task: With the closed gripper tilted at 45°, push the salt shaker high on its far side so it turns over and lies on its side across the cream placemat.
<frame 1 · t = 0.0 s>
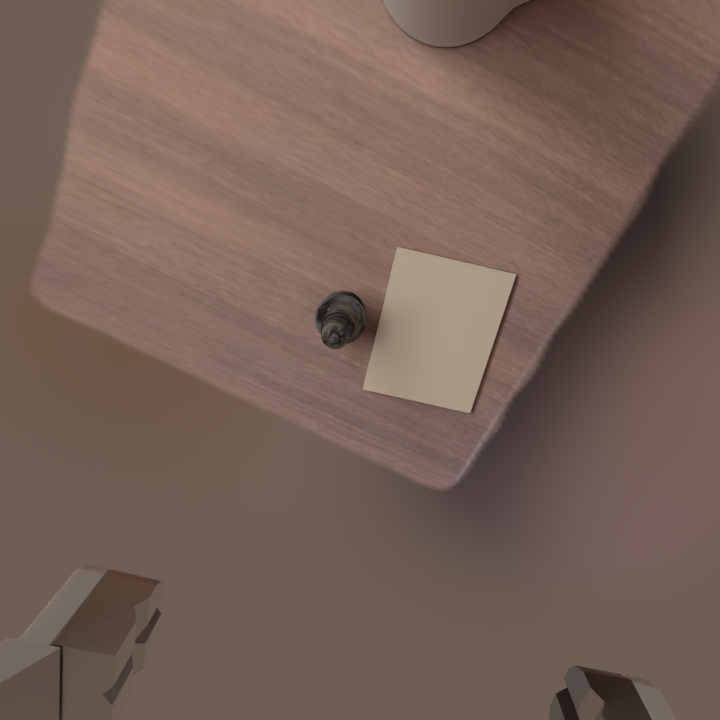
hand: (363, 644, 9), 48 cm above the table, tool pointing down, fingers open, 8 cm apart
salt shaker: (343, 312, 56), on the table
placemat: (435, 333, 56), on the table
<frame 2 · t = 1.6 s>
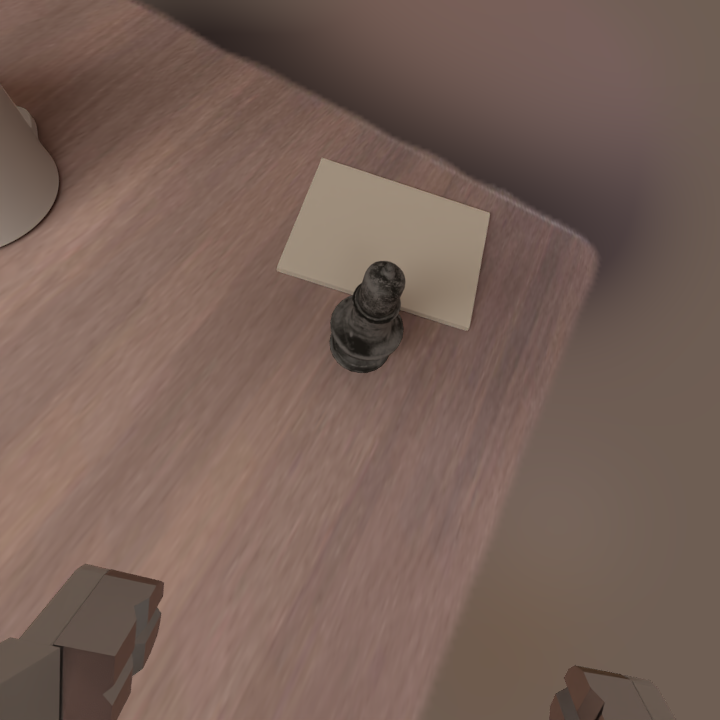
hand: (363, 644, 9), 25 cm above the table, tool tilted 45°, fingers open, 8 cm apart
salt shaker: (359, 345, 40), on the table
placemat: (390, 242, 45), on the table
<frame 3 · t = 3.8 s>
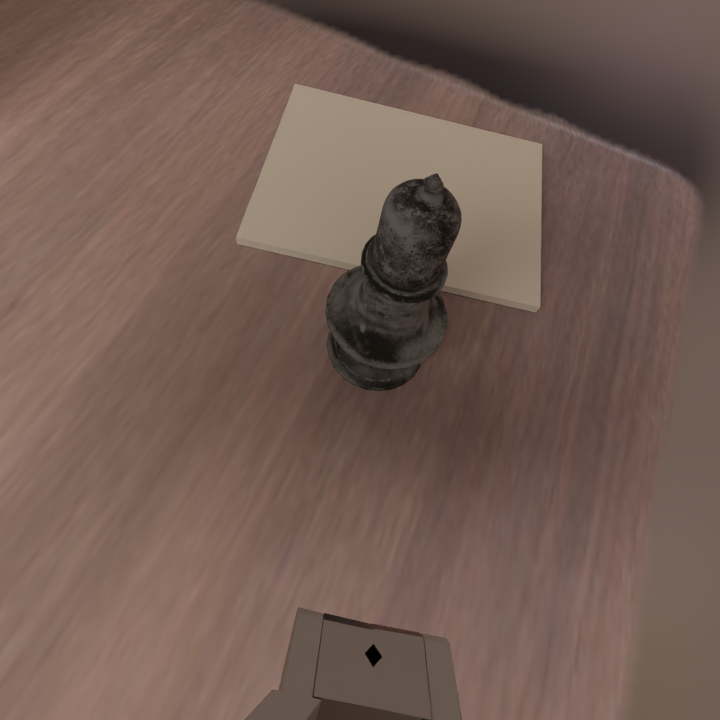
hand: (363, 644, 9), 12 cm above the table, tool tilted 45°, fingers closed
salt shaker: (375, 347, 25), on the table
placemat: (404, 192, 30), on the table
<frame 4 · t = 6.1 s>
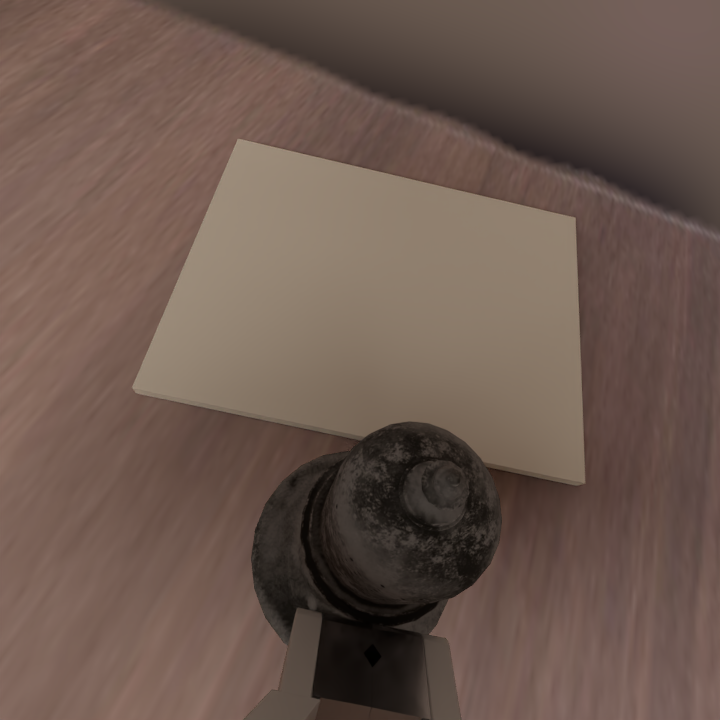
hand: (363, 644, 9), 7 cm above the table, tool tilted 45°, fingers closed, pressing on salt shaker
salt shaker: (339, 562, 17), on the table, touching gripper
placemat: (387, 296, 22), on the table
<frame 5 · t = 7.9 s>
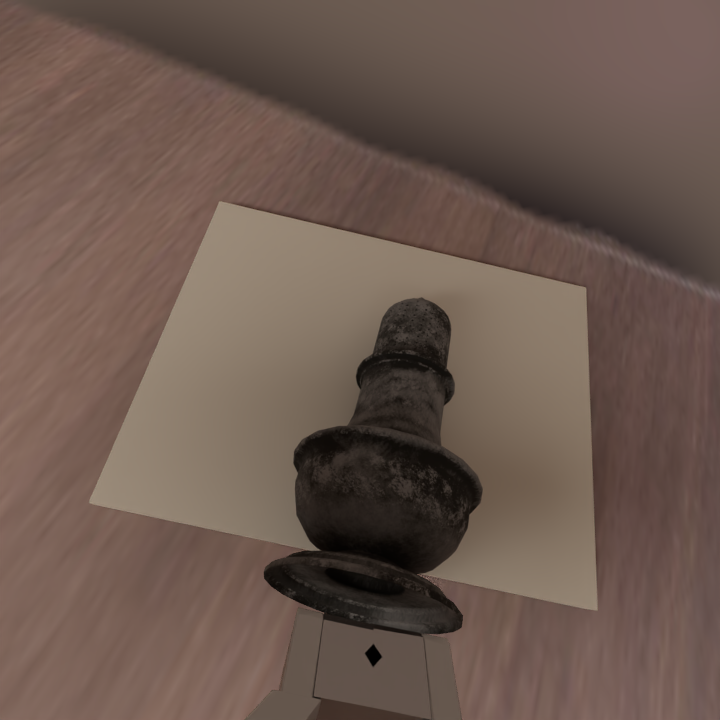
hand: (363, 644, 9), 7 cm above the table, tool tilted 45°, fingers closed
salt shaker: (358, 610, 12), point 4 cm above the table, touching placemat
placemat: (378, 381, 20), on the table
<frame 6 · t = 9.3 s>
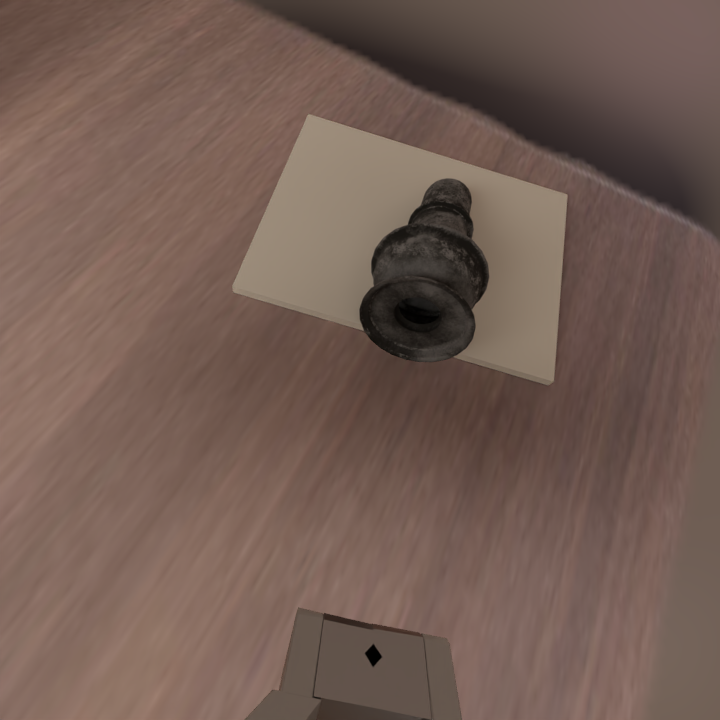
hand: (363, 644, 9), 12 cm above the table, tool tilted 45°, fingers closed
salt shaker: (414, 326, 21), point 4 cm above the table, touching placemat
placemat: (416, 241, 28), on the table
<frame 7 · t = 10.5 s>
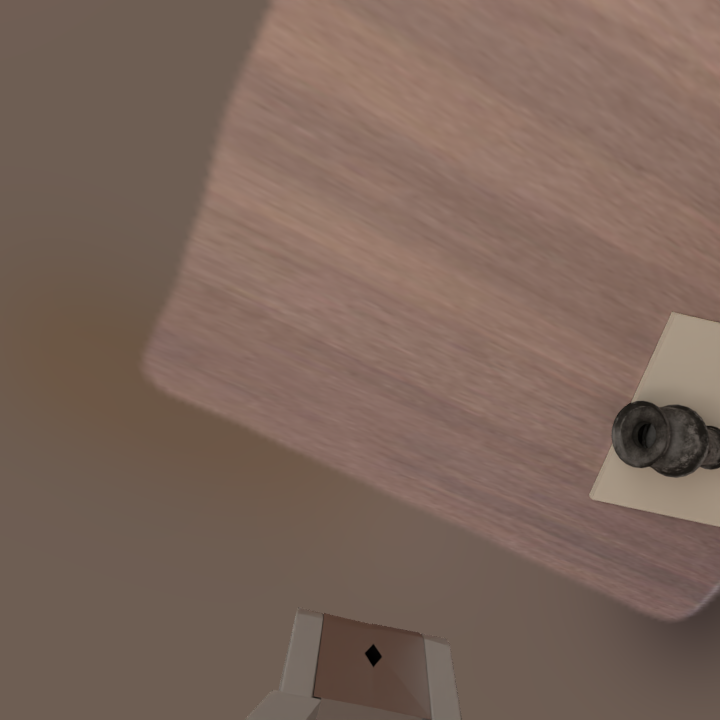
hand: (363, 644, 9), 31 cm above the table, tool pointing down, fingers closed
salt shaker: (636, 433, 37), point 4 cm above the table, touching placemat
placemat: (703, 427, 41), on the table
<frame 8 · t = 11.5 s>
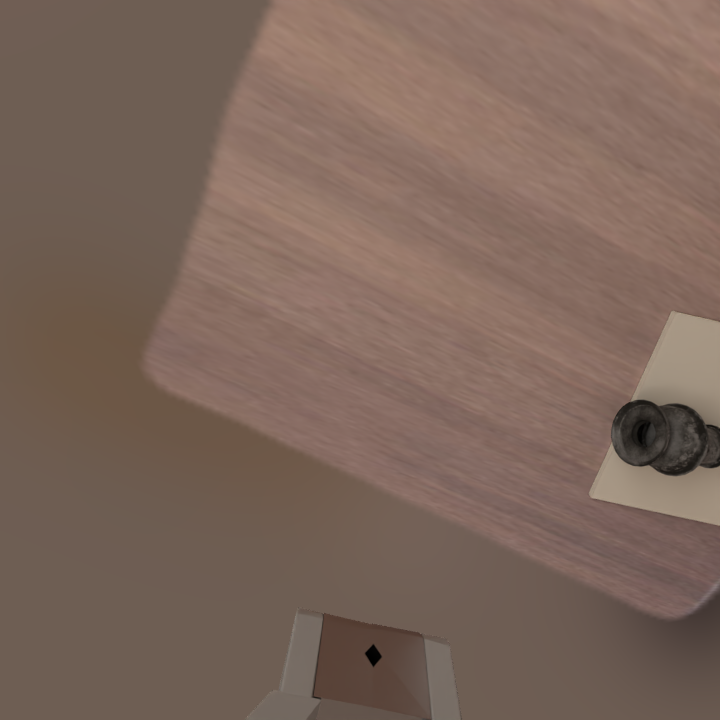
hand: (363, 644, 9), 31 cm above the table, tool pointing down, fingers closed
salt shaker: (635, 432, 37), point 4 cm above the table, touching placemat
placemat: (703, 425, 41), on the table
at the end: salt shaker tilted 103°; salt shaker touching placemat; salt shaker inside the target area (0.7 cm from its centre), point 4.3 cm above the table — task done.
